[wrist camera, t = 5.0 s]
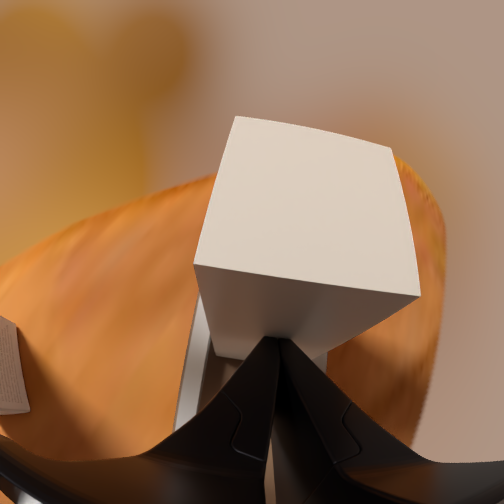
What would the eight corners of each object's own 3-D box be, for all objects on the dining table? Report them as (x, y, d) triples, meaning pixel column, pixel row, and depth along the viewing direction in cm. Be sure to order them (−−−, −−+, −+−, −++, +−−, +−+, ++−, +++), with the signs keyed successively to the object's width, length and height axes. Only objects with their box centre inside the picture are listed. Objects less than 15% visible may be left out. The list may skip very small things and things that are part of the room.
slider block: (297, 366, 13) (421, 295, 5) (215, 355, 13) (193, 263, 4) (303, 291, 15) (390, 148, 6) (229, 281, 15) (235, 115, 6)
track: (294, 531, 10) (303, 547, 8) (164, 517, 9) (155, 532, 8) (324, 258, 18) (335, 240, 16) (212, 240, 18) (211, 220, 16)
